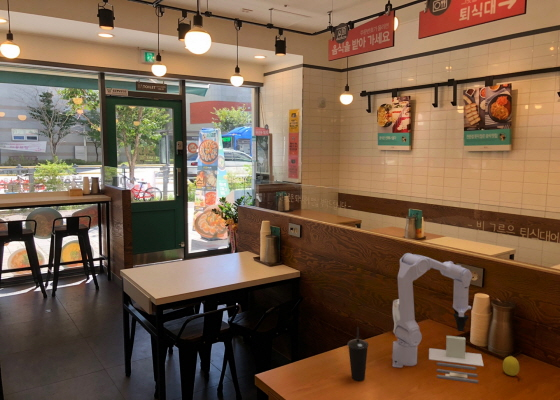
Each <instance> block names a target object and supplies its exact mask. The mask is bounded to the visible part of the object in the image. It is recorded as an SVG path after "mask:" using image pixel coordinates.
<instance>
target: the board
mask: <svg viewBox="0 0 560 400" xmlns="http://www.w3.org/2000/svg"><path fill="white" fill-rule="evenodd" d="M428 360H429V361H438V362H444V363H446V362H447V363H452V364H460V365H461V364H462V365H468V366H470V365H471V366H478V367H484V362H483V357H482V354H481V353H475V352H473V353H472V352H466V351H465V359H462V358H454V357H446V349H440V348H428Z"/></svg>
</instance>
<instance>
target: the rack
mask: <svg viewBox="0 0 560 400" xmlns="http://www.w3.org/2000/svg"><path fill="white" fill-rule="evenodd" d="M436 366H439V367H448V368H456V369H465V370H471V371H477V367H476V366H472V365H471V366H470V365H464V364H462V365H461V364H456V363H448V362H447V363H446V362H440V361H438V362H436ZM450 372H451V373H459V374H467V377H472V378H473V379H471V378H468V379H466V378H458V377H451V376H445V375H441V374H450ZM436 373H441V374H436V379H444V380H449V381H450V380H451V381H458V382H464V383H470V384H471V383H472V384H479V380H478V379H474V378H478V374H477V373H471V372H465V371H464V372H463V371H455V370H449V369H448V370H447V369H441V368H437V369H436Z"/></svg>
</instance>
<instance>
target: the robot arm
mask: <svg viewBox="0 0 560 400" xmlns="http://www.w3.org/2000/svg"><path fill="white" fill-rule="evenodd" d="M431 269H434V270H438V271H439V272H440V274H441V275H442V276H444V277H447V278H449V279H452V280H453V299H452V300H453V301H452V302H453V304H452V309H453V311H454V313H453V317H454V319H455V321H456V322H455V323H456V329H457V331H458V332H464V330H465V326H466V323H467V321H468V319H469V317H470V316H469V315H468V314H467V315H466V312H467V311H468V310H471V309H472V306H471V305H469V288H470V285H471V281H472V279H473V274H472V272H471V269H468V268H465V267H463V266H462V265H461V264H454V262H453V261H451V260H448V261H444V262H441V261H438V260H436V259H433V258H431V257H428V256H424V255H421V254H415V253H413V254H412V253H411V252H407V253H404V254H403V255H402V257H400V259H399V271H398V273H397V290H398V299H399V309H400V319H399V320H398V321H396V327H395V331H394V332H395V334H394V335H395V337H396V339H397V340H394V341H393V342H392V355H391V359H392V365H391V366H392V367H393V368H403V366H407V367H413V366H416V365H417V364H418V346H419V345H420V344H421V341H422V337H423V336H422V332H421V331H420V326H419V325H418V322H417V321H416V320H415V319H416V317H415V303H414V299H415V298H414V287H413V286H414V285H413V282H414V281H417V279H419V278H420V277H421V276H423V275H424V274H425V273H426V272H428V271H430V270H431Z"/></svg>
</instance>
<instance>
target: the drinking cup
mask: <svg viewBox="0 0 560 400" xmlns="http://www.w3.org/2000/svg"><path fill="white" fill-rule="evenodd" d="M347 347H348V354H349V364H350V365H349V366H350V372H351V373H350V374H351V379H352V380H353V381H355V382H363V381H365V379H366V369H367V360H368V358H367V357H368V348H369V343H368V341H366V340H364V339H362V338H361V339H360V327H359V326H357V327H356V338H354V339H351V340H349V341H348V342H347Z"/></svg>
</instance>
